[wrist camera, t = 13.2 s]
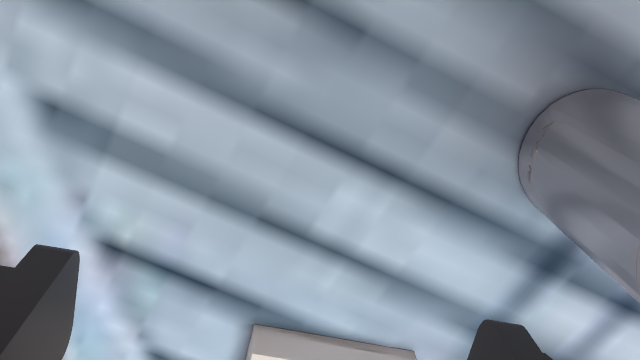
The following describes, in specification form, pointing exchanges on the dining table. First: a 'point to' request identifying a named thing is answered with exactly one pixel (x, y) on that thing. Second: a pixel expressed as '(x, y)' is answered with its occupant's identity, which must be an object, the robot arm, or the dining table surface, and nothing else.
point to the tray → (315, 347)
